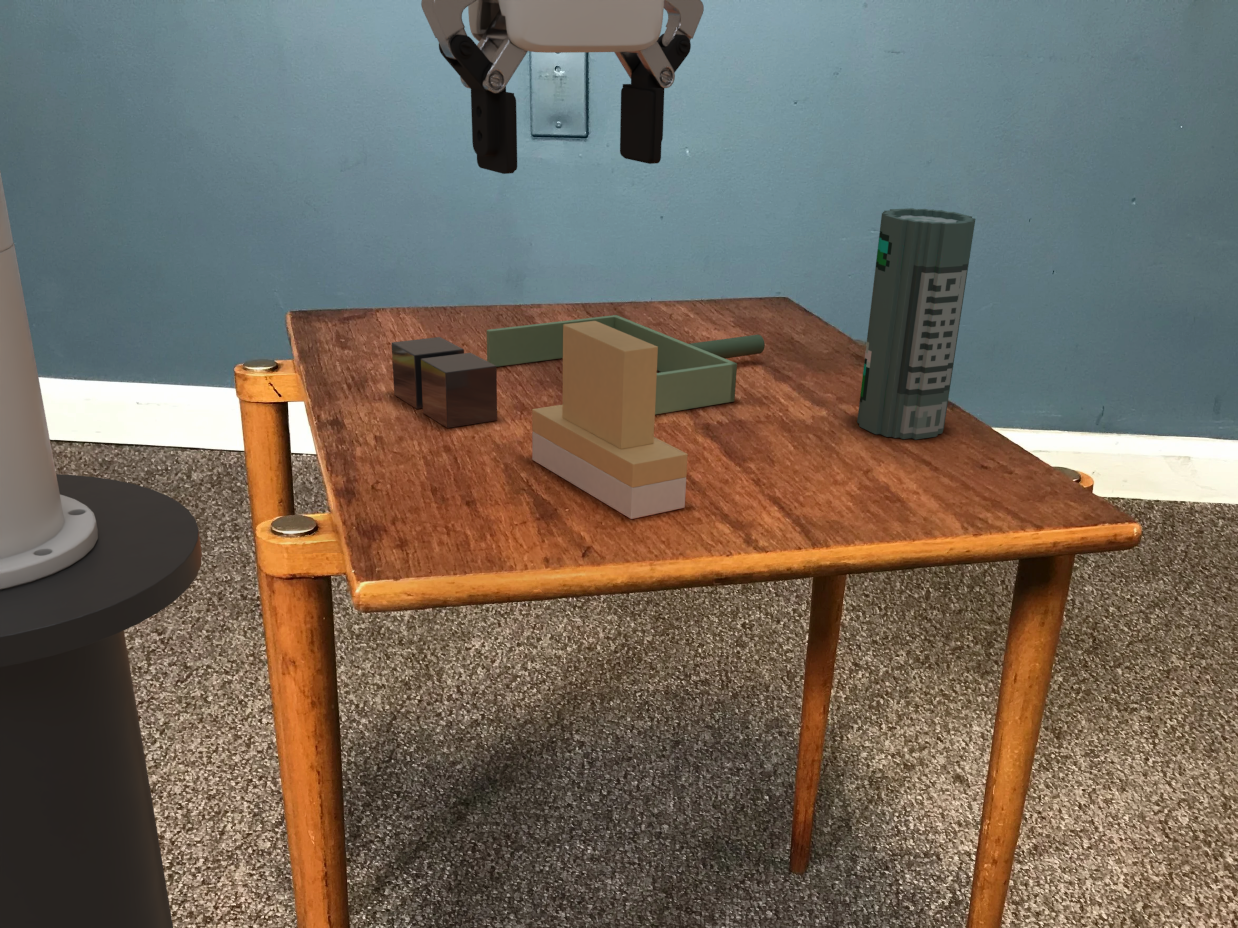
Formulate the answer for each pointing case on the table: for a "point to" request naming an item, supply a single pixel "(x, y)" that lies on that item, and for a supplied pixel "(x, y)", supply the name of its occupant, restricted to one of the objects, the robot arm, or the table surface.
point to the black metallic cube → (416, 365)
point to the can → (914, 321)
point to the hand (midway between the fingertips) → (571, 165)
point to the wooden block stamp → (610, 424)
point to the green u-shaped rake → (684, 367)
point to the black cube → (459, 389)
